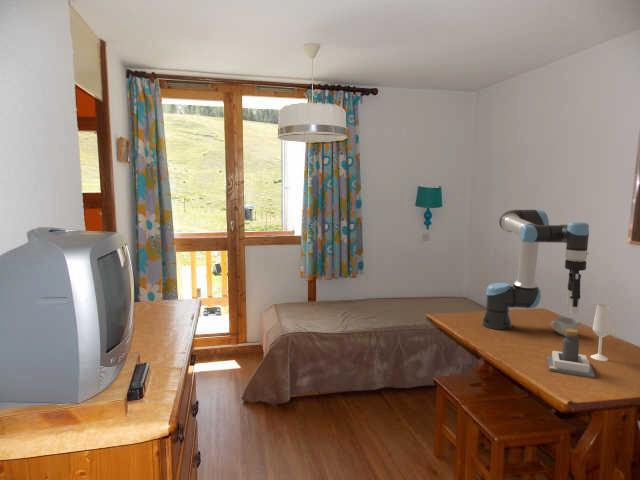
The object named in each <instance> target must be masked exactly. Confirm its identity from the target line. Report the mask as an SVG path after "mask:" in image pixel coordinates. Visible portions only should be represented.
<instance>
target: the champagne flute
mask: <svg viewBox="0 0 640 480" xmlns="http://www.w3.org/2000/svg"><path fill="white" fill-rule="evenodd" d="M592 331H593V332H594V335H596V336H598V337H599V338H598V346H597V347H598V349H597V350H598V351H597V353H595V354H592V355H590V358H591V359H593V360H596V361H601V362H607V361H608V360H609V358H608V357H606V356H605V355H603V354H602V349H603V348H602V346H603V338H605V337H607V336H608V335H609V334H610V333H611V332H612V331H611V307H610V305H608V304H603V303H602V304H601V303H600V304H596V308H595V314H594V319H593V325H592Z"/></svg>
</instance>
